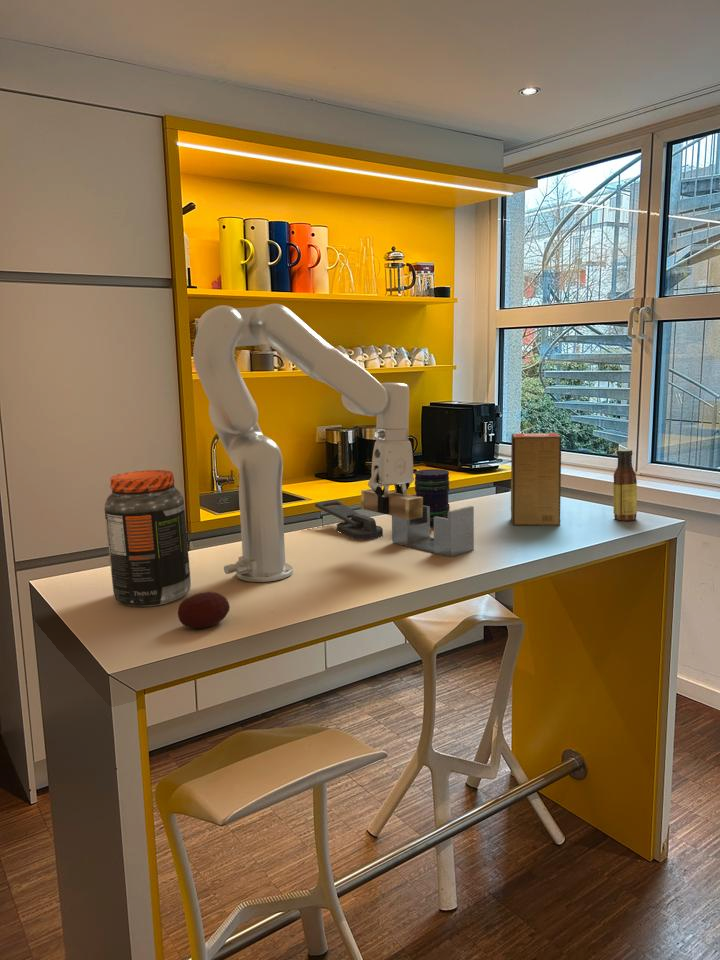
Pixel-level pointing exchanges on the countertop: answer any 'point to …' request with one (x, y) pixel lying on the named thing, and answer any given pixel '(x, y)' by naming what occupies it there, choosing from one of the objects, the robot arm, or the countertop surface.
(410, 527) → the grey cradle stand
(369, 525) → the zipper pull
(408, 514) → the brown rectangular block
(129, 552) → the supplement tub
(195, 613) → the potato
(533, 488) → the food packaging
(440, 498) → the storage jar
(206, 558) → the countertop surface
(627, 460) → the sauce bottle
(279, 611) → the countertop surface
